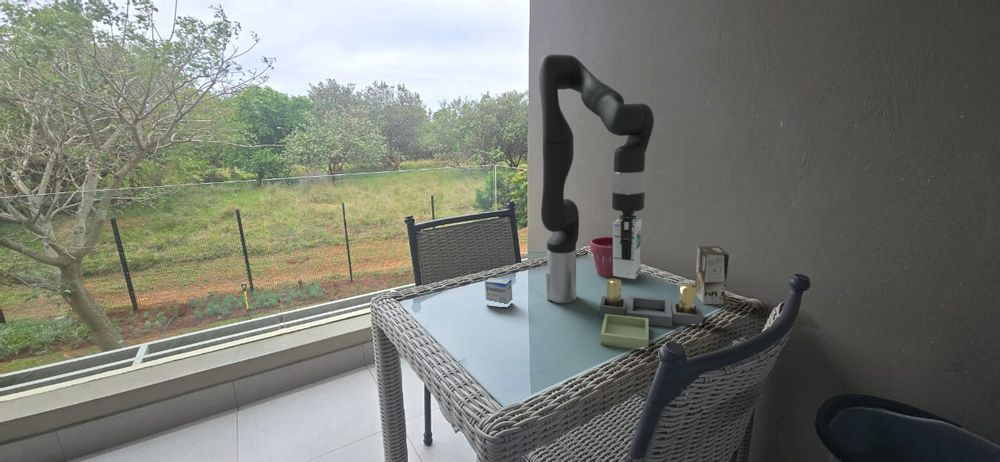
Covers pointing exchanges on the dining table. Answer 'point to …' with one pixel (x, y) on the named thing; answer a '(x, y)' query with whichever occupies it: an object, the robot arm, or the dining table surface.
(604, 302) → the socket block
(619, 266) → the syrup box
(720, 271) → the coffee box
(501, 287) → the medicine box
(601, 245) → the plant pot
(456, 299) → the dining table surface
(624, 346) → the tray
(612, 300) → the left brass peg
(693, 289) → the right brass peg
